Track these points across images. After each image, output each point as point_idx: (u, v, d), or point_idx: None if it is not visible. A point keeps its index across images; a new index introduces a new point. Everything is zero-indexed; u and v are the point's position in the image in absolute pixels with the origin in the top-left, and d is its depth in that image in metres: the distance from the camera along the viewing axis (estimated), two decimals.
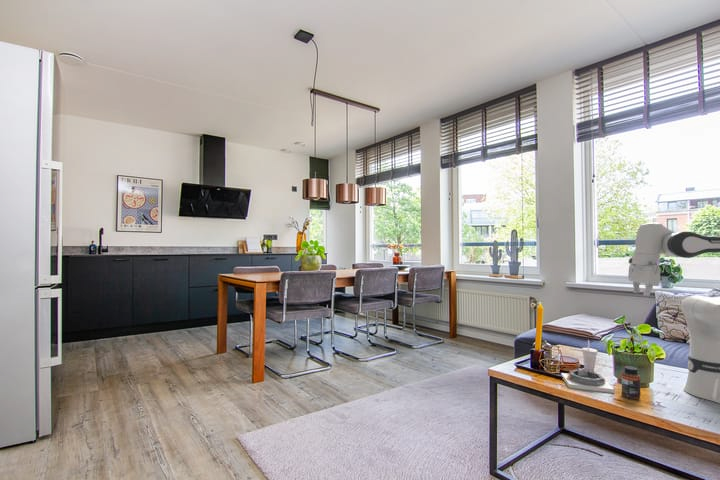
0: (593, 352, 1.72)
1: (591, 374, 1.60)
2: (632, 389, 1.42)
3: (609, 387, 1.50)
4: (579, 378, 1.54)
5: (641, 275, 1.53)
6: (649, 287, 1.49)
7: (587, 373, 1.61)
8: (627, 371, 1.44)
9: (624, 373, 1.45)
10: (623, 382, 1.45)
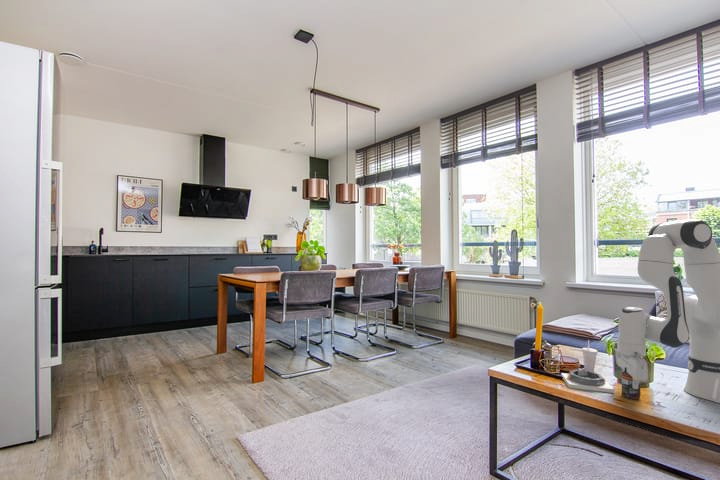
0: (593, 352, 1.72)
1: (591, 374, 1.60)
2: (632, 389, 1.42)
3: (609, 387, 1.50)
4: (579, 378, 1.54)
5: (628, 366, 1.43)
6: (636, 380, 1.40)
7: (587, 373, 1.61)
8: None
9: (624, 373, 1.45)
10: (623, 382, 1.45)
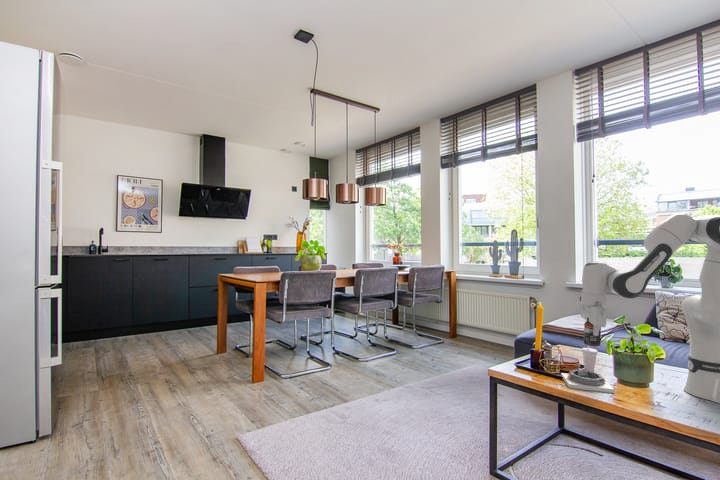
0: (593, 352, 1.72)
1: (591, 374, 1.60)
2: (593, 337, 1.53)
3: (609, 387, 1.50)
4: (579, 378, 1.54)
5: (590, 315, 1.53)
6: (597, 327, 1.50)
7: (587, 373, 1.61)
8: None
9: (586, 323, 1.55)
10: (585, 331, 1.55)
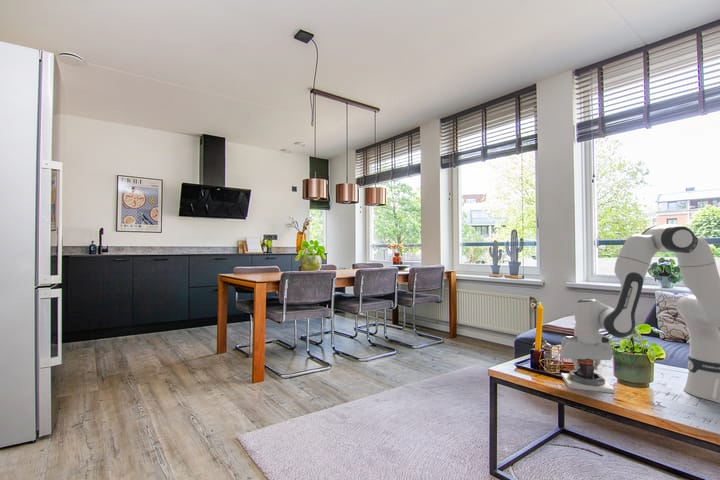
0: None
1: None
2: (579, 370, 1.58)
3: (609, 387, 1.50)
4: (579, 378, 1.54)
5: None
6: (572, 360, 1.58)
7: None
8: None
9: None
10: None
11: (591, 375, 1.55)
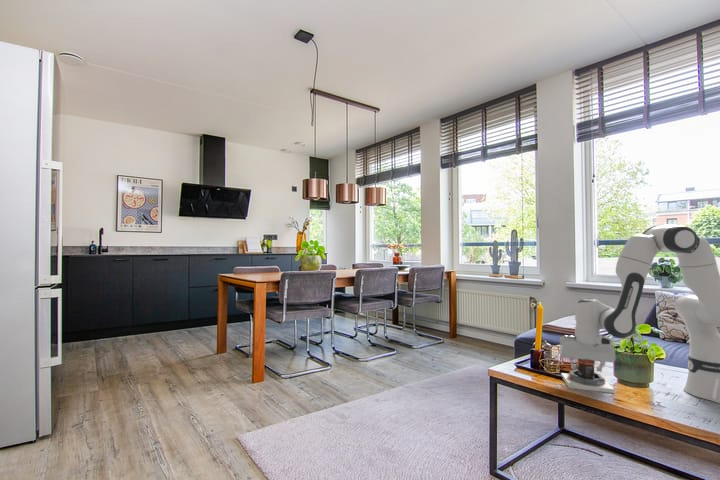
0: None
1: None
2: (578, 370, 1.58)
3: (609, 387, 1.50)
4: (579, 378, 1.54)
5: None
6: (569, 359, 1.59)
7: None
8: None
9: None
10: None
11: (590, 376, 1.55)
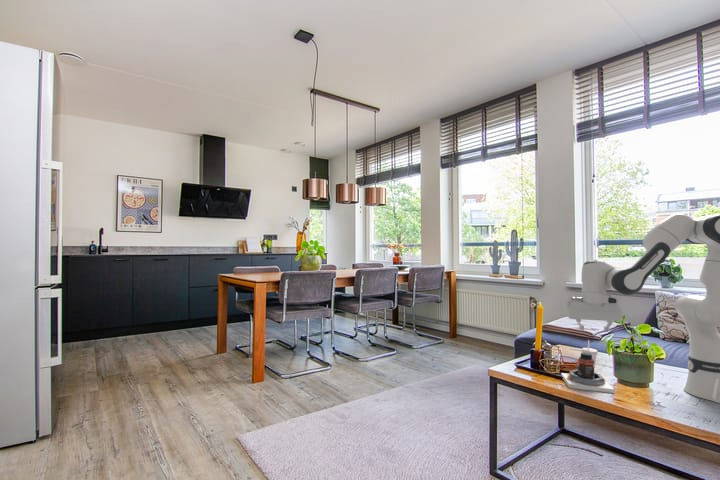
0: (593, 352, 1.72)
1: None
2: (578, 370, 1.58)
3: (609, 387, 1.50)
4: (579, 378, 1.54)
5: None
6: (576, 321, 1.61)
7: None
8: None
9: None
10: None
11: (590, 376, 1.55)
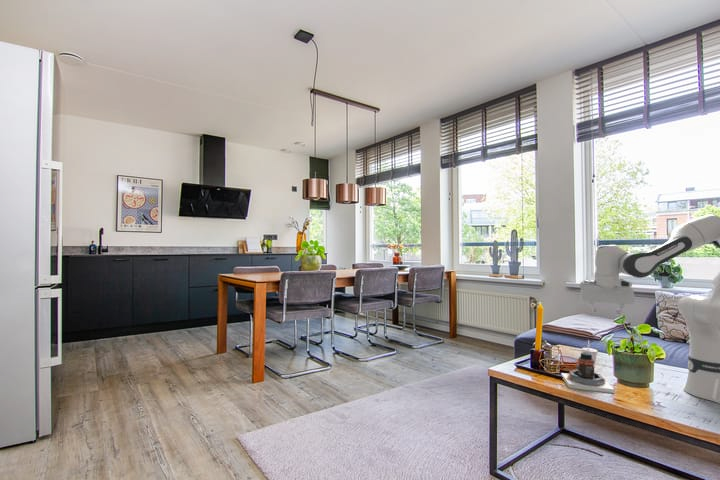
0: (593, 352, 1.72)
1: None
2: (578, 370, 1.58)
3: (609, 387, 1.50)
4: (579, 378, 1.54)
5: None
6: (589, 303, 1.66)
7: None
8: None
9: None
10: None
11: (590, 376, 1.55)
